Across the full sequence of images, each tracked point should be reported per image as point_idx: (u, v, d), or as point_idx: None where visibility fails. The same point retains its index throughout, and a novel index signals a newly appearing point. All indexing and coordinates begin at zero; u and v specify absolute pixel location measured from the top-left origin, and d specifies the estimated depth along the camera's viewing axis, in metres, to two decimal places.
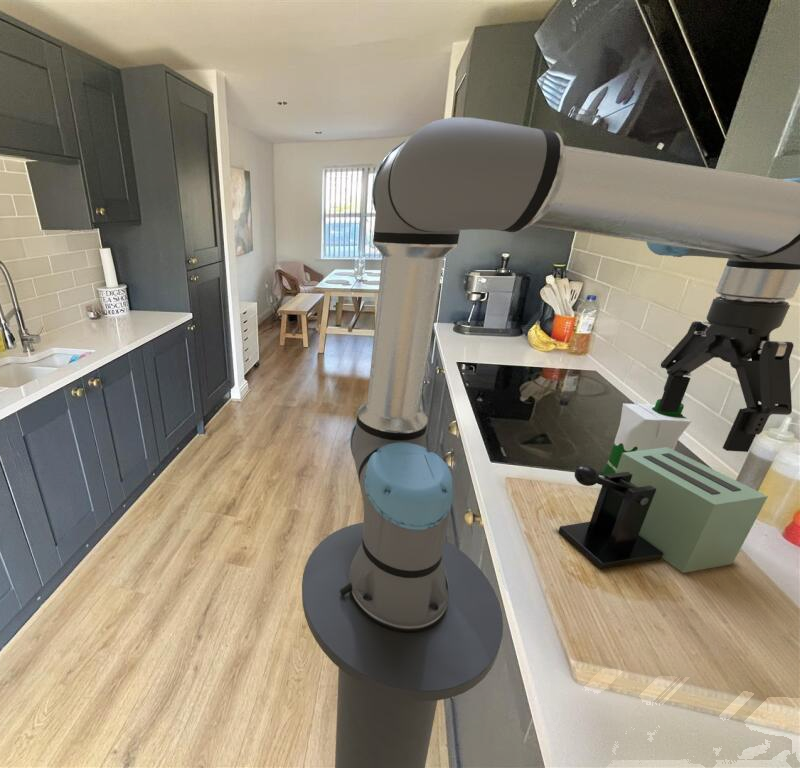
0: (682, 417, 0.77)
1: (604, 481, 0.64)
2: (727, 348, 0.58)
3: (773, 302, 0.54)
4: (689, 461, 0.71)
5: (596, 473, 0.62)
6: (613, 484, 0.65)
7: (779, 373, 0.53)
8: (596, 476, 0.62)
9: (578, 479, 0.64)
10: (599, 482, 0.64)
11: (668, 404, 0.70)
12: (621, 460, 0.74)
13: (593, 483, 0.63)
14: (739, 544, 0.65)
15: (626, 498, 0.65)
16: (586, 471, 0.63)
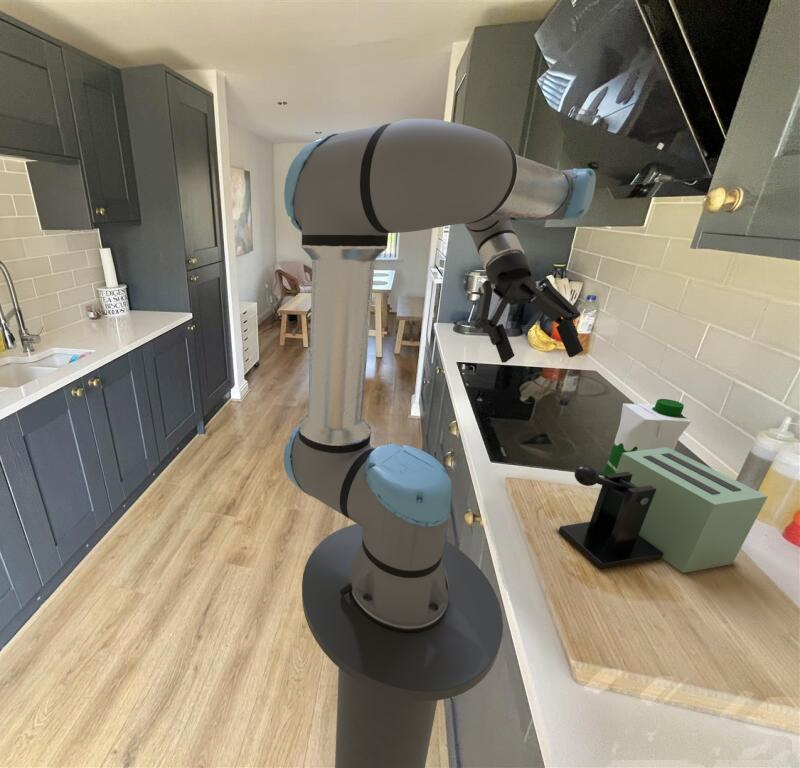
0: (682, 417, 0.77)
1: (604, 481, 0.64)
2: (530, 286, 0.76)
3: None
4: (689, 461, 0.71)
5: (596, 473, 0.62)
6: (613, 484, 0.65)
7: None
8: (596, 476, 0.62)
9: (578, 479, 0.64)
10: (599, 482, 0.64)
11: None
12: (621, 460, 0.74)
13: (593, 483, 0.63)
14: (739, 544, 0.65)
15: (626, 498, 0.65)
16: (586, 471, 0.63)
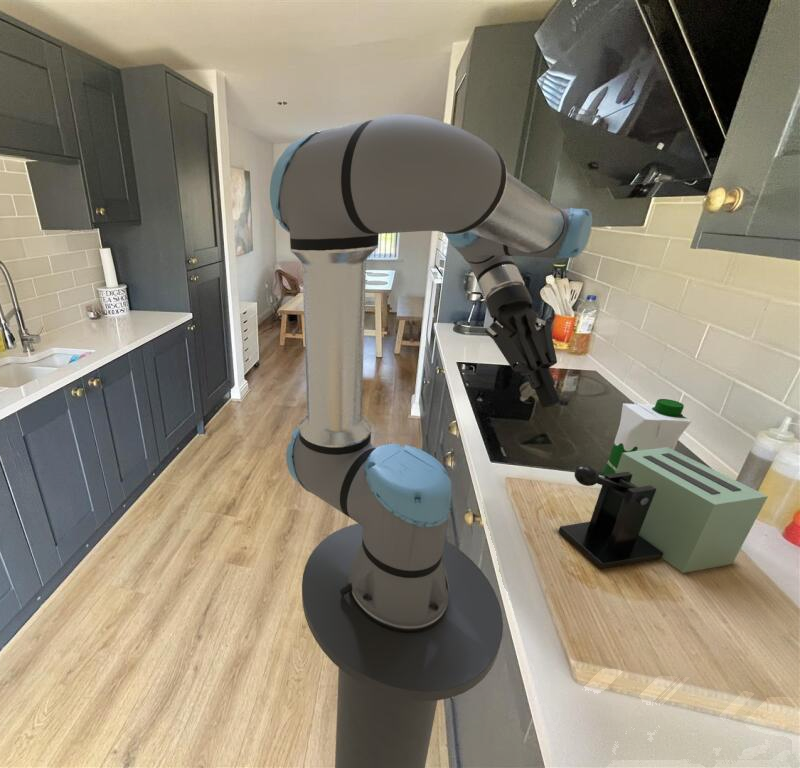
0: (682, 417, 0.77)
1: (604, 481, 0.64)
2: (532, 318, 0.75)
3: None
4: (689, 461, 0.71)
5: (596, 473, 0.62)
6: (613, 484, 0.65)
7: None
8: (596, 476, 0.62)
9: (578, 479, 0.64)
10: (599, 482, 0.64)
11: None
12: (621, 460, 0.74)
13: (593, 483, 0.63)
14: (739, 544, 0.65)
15: (626, 498, 0.65)
16: (586, 471, 0.63)
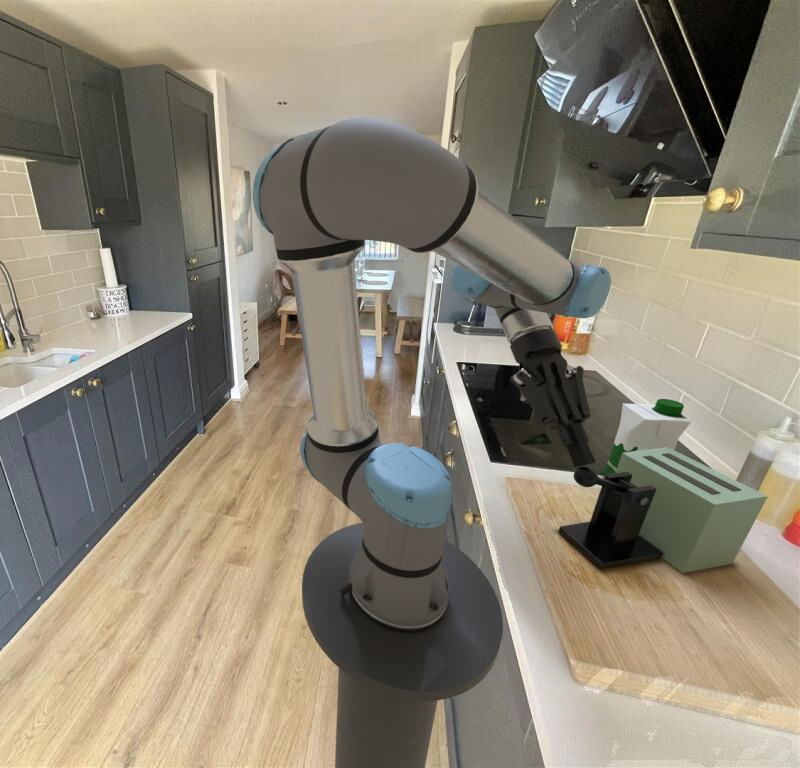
0: (682, 417, 0.77)
1: (603, 482, 0.64)
2: (562, 367, 0.68)
3: None
4: (689, 461, 0.71)
5: (595, 474, 0.63)
6: (613, 485, 0.65)
7: None
8: (595, 477, 0.62)
9: (577, 480, 0.64)
10: (598, 483, 0.64)
11: None
12: (621, 460, 0.74)
13: (592, 484, 0.63)
14: (739, 544, 0.65)
15: (626, 498, 0.65)
16: (585, 473, 0.63)
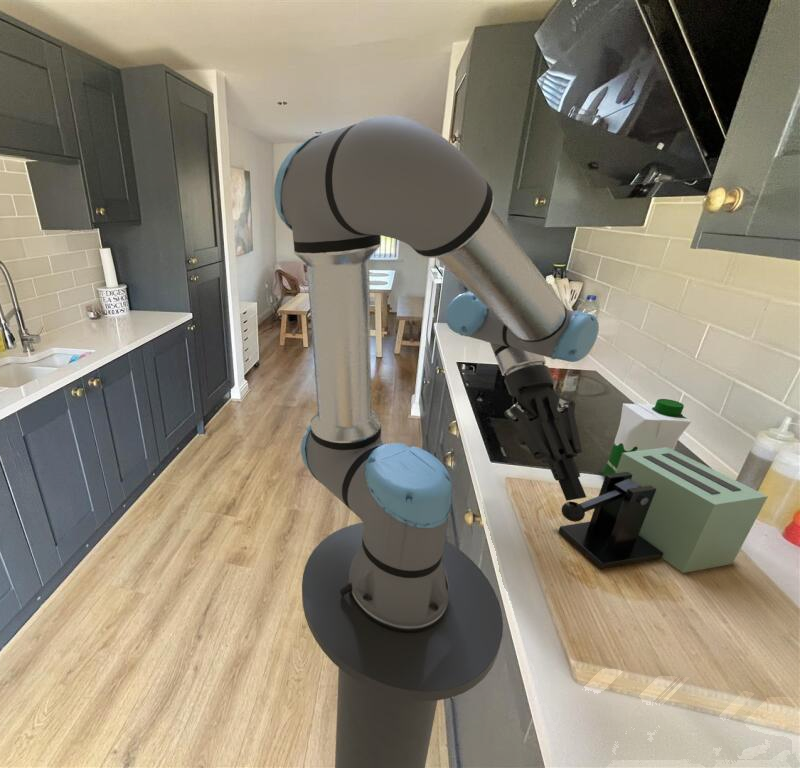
0: (682, 417, 0.77)
1: (593, 505, 0.66)
2: (554, 402, 0.71)
3: None
4: (689, 461, 0.71)
5: (577, 510, 0.65)
6: (605, 500, 0.66)
7: None
8: (578, 514, 0.65)
9: (567, 518, 0.67)
10: (589, 509, 0.66)
11: None
12: (621, 460, 0.74)
13: (580, 519, 0.65)
14: (739, 544, 0.65)
15: (626, 498, 0.65)
16: (568, 513, 0.66)
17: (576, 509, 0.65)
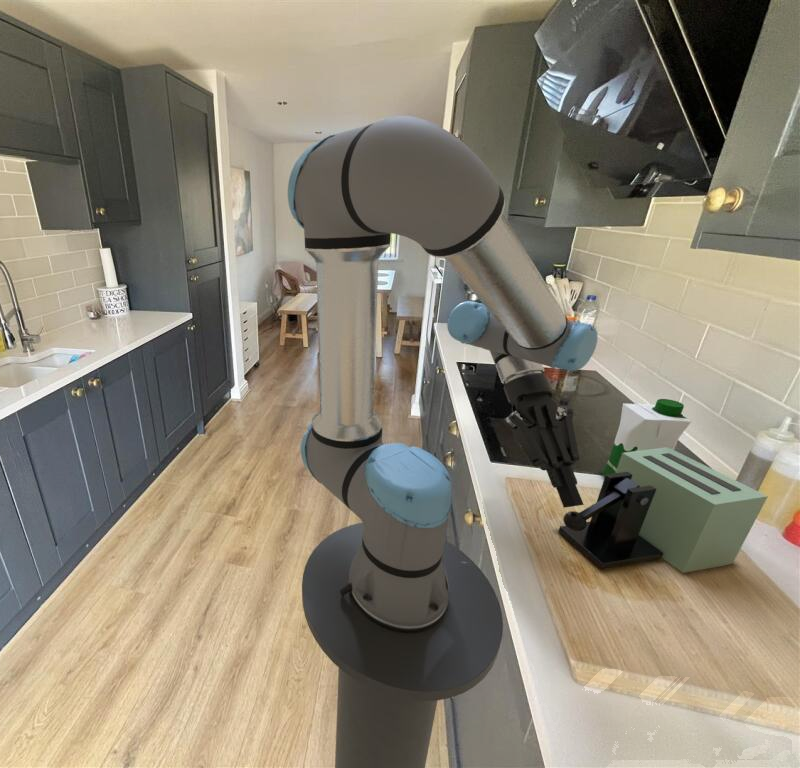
0: (682, 417, 0.77)
1: (594, 512, 0.67)
2: (553, 410, 0.72)
3: None
4: (689, 461, 0.71)
5: (577, 521, 0.66)
6: (606, 505, 0.66)
7: None
8: (579, 524, 0.66)
9: (570, 528, 0.68)
10: (590, 516, 0.67)
11: None
12: (621, 460, 0.74)
13: (583, 528, 0.66)
14: (739, 544, 0.65)
15: (626, 498, 0.65)
16: (569, 524, 0.67)
17: (576, 520, 0.66)
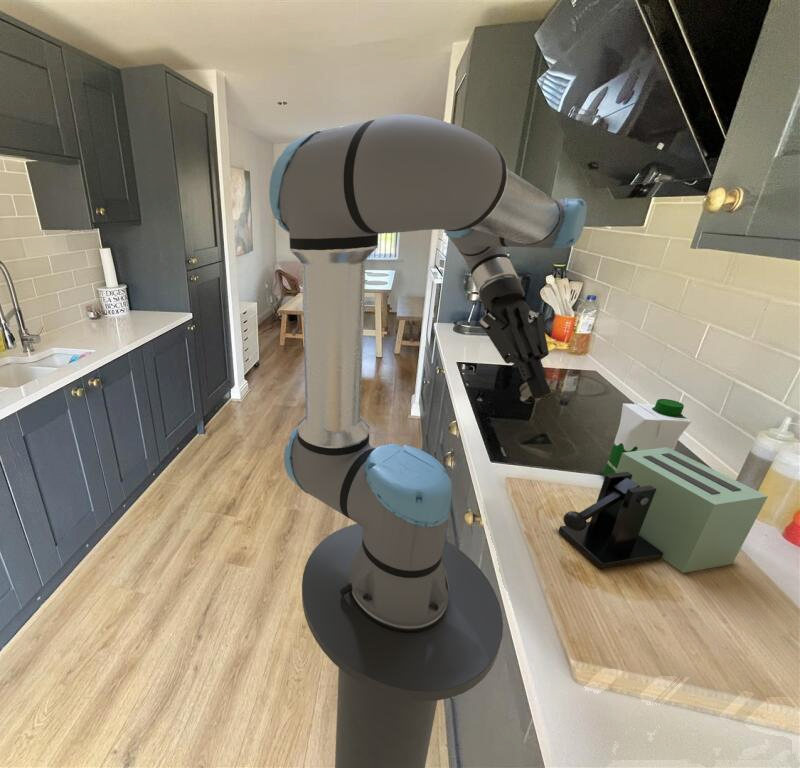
0: (682, 417, 0.77)
1: (594, 512, 0.67)
2: (524, 311, 0.75)
3: None
4: (689, 461, 0.71)
5: (577, 521, 0.66)
6: (606, 505, 0.66)
7: None
8: (579, 524, 0.66)
9: (570, 528, 0.68)
10: (590, 516, 0.67)
11: None
12: (621, 460, 0.74)
13: (583, 528, 0.66)
14: (739, 544, 0.65)
15: (626, 498, 0.65)
16: (569, 524, 0.67)
17: (576, 520, 0.66)
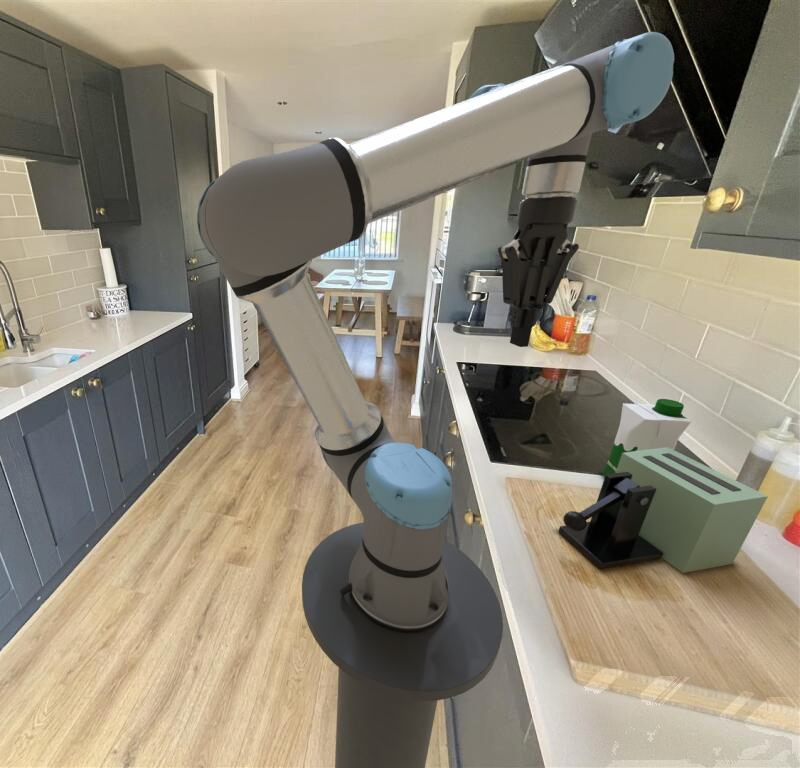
0: (682, 417, 0.77)
1: (594, 512, 0.67)
2: (557, 246, 0.62)
3: None
4: (689, 461, 0.71)
5: (577, 521, 0.66)
6: (606, 505, 0.66)
7: None
8: (579, 524, 0.66)
9: (570, 528, 0.68)
10: (590, 516, 0.67)
11: None
12: (621, 460, 0.74)
13: (583, 528, 0.66)
14: (739, 544, 0.65)
15: (626, 498, 0.65)
16: (569, 524, 0.67)
17: (576, 520, 0.66)
